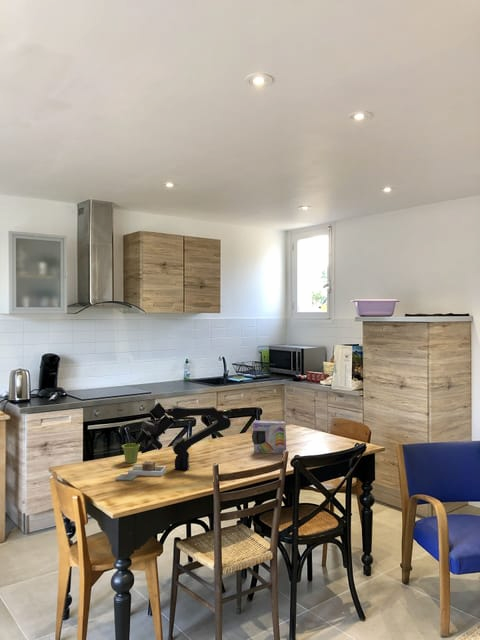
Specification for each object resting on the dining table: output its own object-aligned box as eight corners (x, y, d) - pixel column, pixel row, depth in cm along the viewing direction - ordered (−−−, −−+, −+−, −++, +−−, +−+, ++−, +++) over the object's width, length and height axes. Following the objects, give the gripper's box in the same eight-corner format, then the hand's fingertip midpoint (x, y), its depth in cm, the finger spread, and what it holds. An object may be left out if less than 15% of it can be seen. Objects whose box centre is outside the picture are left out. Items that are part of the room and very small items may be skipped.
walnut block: (155, 471, 257) (155, 461, 257) (152, 474, 252) (152, 464, 252) (145, 471, 258) (145, 461, 258) (142, 474, 253) (142, 464, 253)
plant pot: (122, 464, 269) (122, 448, 269) (121, 460, 278) (121, 443, 278) (140, 463, 272) (140, 446, 272) (139, 458, 281) (139, 442, 281)
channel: (166, 470, 259) (166, 466, 259) (161, 475, 249) (161, 471, 249) (133, 469, 260) (133, 465, 260) (128, 474, 251) (128, 470, 251)
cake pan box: (251, 452, 293) (251, 421, 293) (254, 450, 298) (253, 419, 298) (284, 454, 288) (284, 423, 288) (286, 452, 293) (286, 421, 293)
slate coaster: (137, 475, 250) (137, 474, 250) (132, 480, 242) (132, 479, 242) (121, 475, 251) (121, 474, 251) (115, 480, 243) (115, 479, 243)
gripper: (146, 408, 263) (123, 430, 260) (159, 425, 247) (134, 448, 245) (159, 421, 269) (136, 442, 266) (172, 438, 253) (148, 461, 251)
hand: (138, 448), depth 257 cm, fingers open, 9 cm apart
